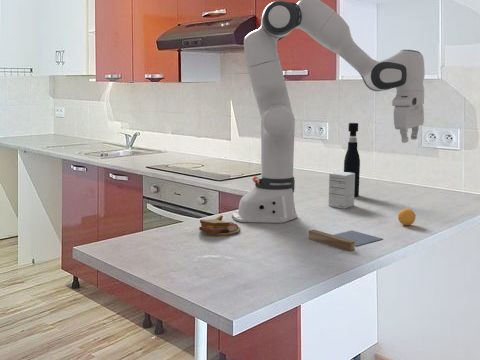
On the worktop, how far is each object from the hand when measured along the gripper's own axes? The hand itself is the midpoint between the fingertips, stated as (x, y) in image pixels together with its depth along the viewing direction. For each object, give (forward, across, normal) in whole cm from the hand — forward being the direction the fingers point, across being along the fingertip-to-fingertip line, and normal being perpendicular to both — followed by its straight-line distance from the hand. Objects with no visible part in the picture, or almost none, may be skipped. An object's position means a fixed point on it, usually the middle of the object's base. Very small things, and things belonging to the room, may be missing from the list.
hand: (409, 140), depth 187 cm
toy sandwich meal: (+25, +52, -42) cm, 71 cm away
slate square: (+26, +34, -5) cm, 43 cm away
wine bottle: (+26, -25, -32) cm, 49 cm away
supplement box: (+26, -5, -27) cm, 38 cm away
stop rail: (+26, +44, -8) cm, 52 cm away
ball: (+24, +10, +3) cm, 26 cm away
